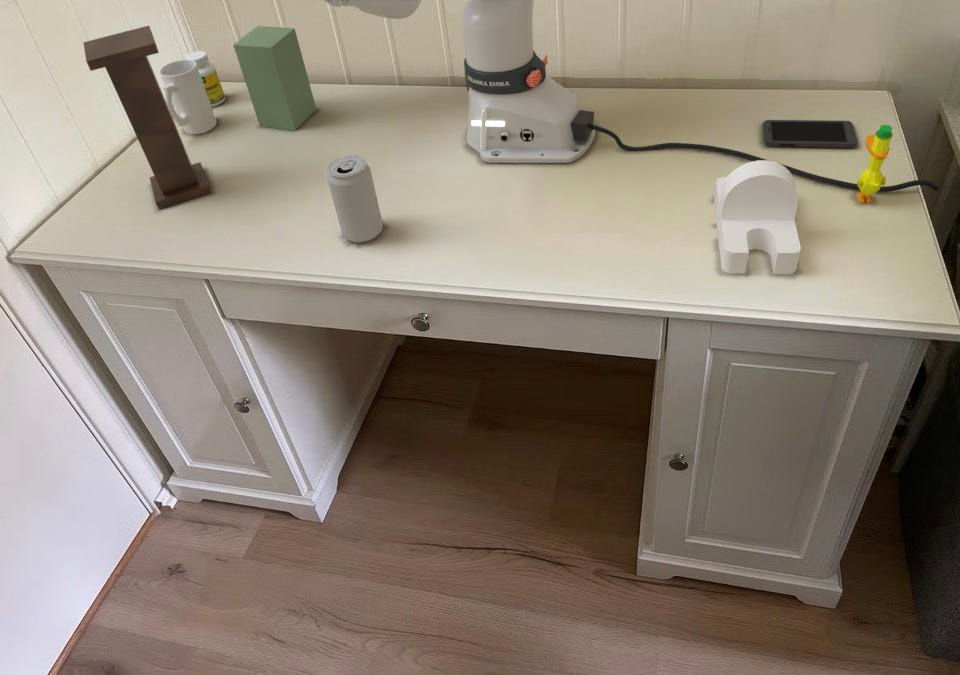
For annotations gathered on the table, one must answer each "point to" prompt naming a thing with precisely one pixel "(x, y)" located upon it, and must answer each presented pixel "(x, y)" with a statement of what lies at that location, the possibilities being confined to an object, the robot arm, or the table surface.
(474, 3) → the robot arm
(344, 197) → the beverage can
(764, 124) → the cell phone
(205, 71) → the supplement bottle
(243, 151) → the table surface
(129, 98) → the stand
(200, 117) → the mug
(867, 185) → the toy figure
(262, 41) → the block
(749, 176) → the white notched rounded piece
